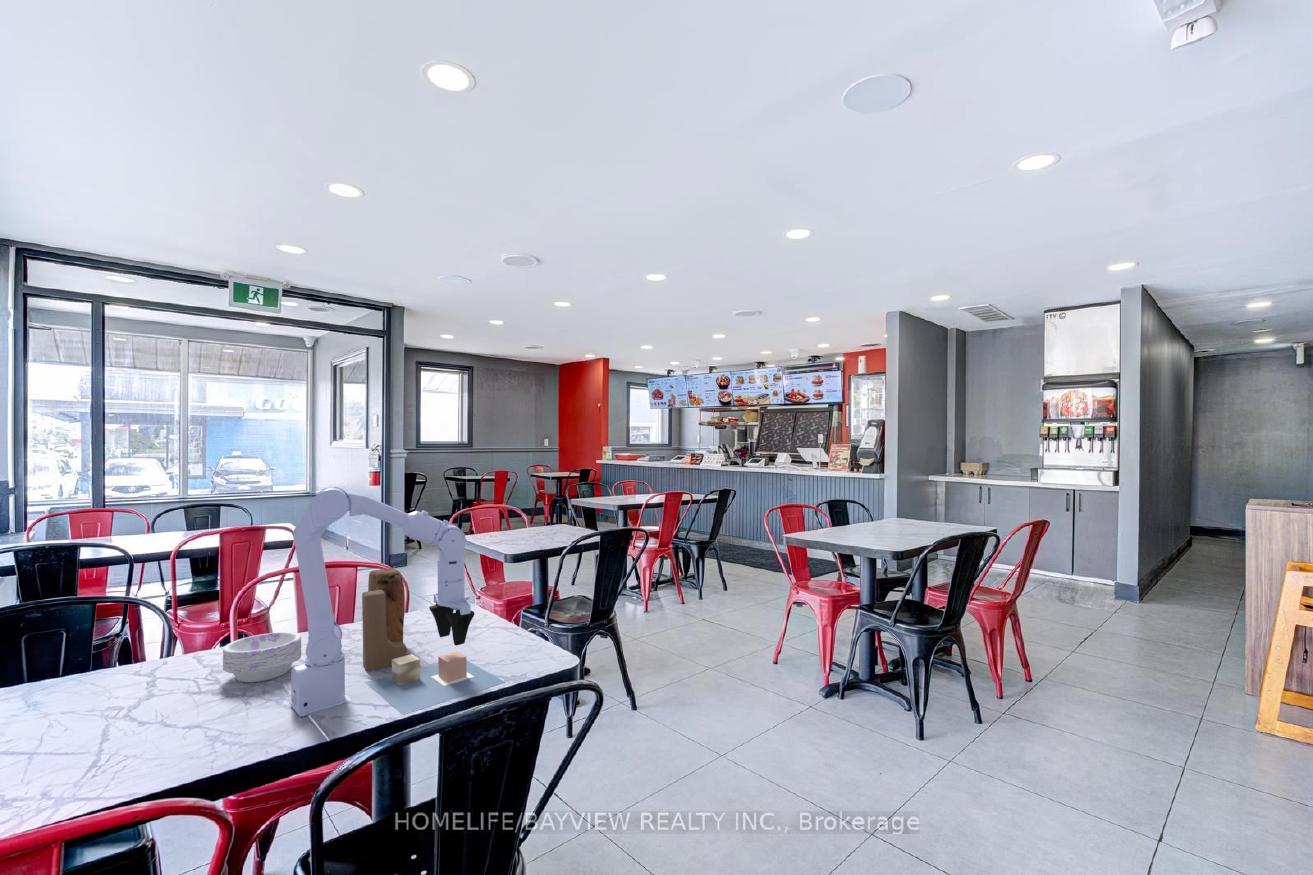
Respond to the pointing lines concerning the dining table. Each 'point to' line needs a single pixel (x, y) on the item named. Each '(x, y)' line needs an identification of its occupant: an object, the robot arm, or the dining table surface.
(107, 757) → the dining table surface
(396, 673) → the maple block
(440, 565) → the robot arm
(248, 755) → the dining table surface
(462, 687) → the board
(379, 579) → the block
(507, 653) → the dining table surface
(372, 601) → the wooden block
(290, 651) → the paper bowls
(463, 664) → the terracotta block
